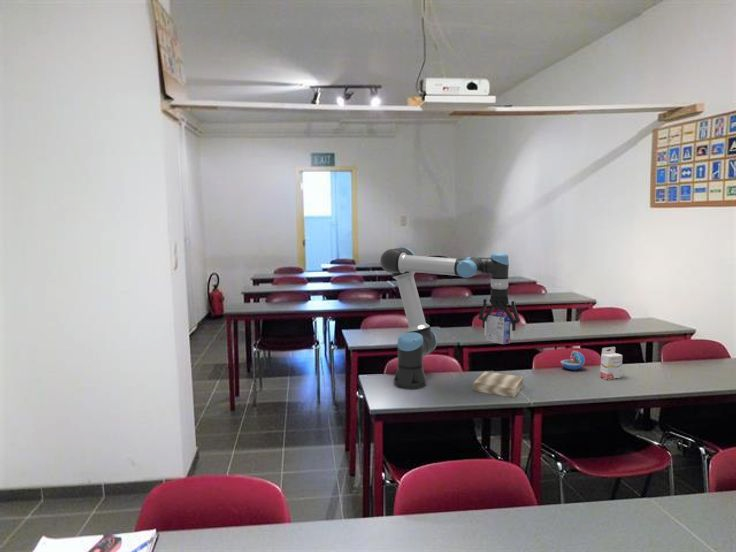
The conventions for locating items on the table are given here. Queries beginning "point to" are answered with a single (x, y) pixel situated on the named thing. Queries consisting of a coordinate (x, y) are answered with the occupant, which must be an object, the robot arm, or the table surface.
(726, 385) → the table surface
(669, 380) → the table surface
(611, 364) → the ink cartridge box
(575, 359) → the cell model
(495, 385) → the birch base
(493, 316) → the ink cartridge box
